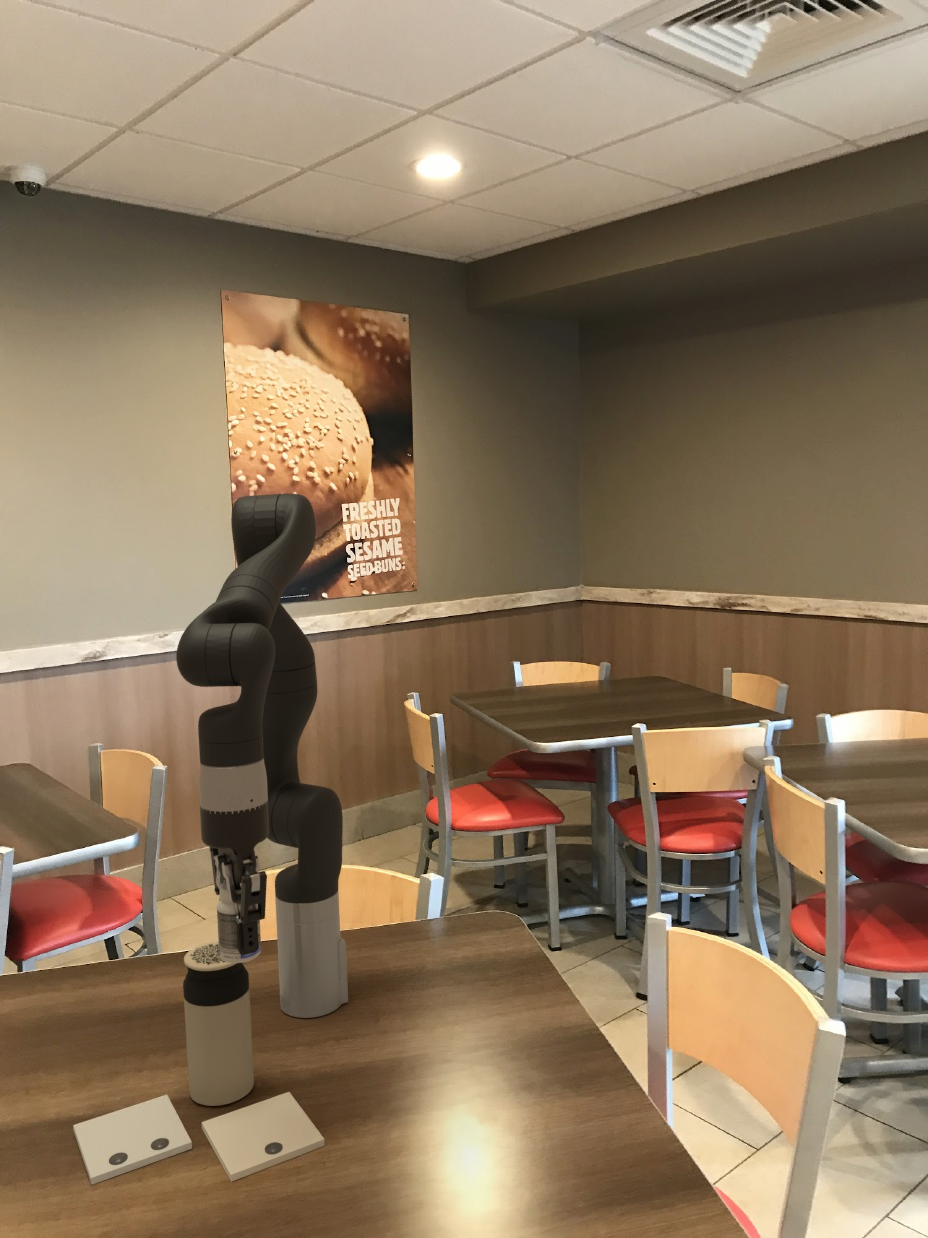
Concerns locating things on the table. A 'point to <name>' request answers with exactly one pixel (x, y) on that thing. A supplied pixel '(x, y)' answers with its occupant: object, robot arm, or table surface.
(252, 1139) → the one-dot pad
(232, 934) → the pill bottle
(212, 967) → the travel mug
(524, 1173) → the table surface
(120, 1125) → the two-dot pad
